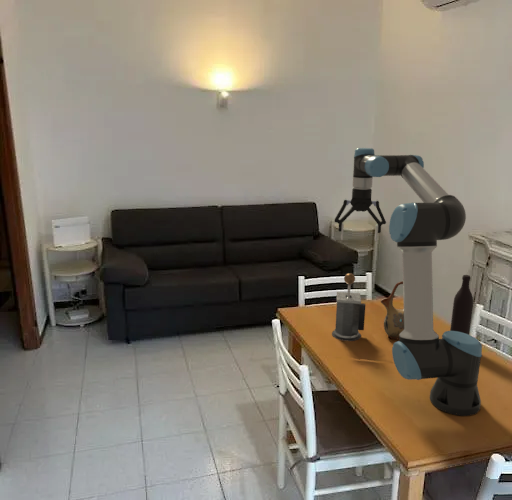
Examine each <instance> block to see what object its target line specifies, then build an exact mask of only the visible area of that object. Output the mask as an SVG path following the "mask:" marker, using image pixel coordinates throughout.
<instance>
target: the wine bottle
mask: <svg viewBox="0 0 512 500" xmlns="http://www.w3.org/2000/svg"><path fill="white" fill-rule="evenodd" d="M461 280H462V283H461V287H460V288H459V290H458V291H457V292H456V293H455V296H454V299H453V303H452V304H453V305H452V313H451V321H450V327H449V328H450V330H449V331H458V332H462V333H465V334H468V335H470V333H471V332H470V330H471V323H472V315H473V310H474V309H473V307H474V297H473V294H472V292H471V289H470V281H471V276H470V275H469V274H463V275H462V278H461Z"/></svg>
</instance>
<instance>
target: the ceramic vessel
mask: <svg viewBox="0 0 512 500" xmlns="http://www.w3.org/2000/svg"><path fill="white" fill-rule="evenodd" d="M400 285H403V280H402V281H399V282H397V283H396V284H395V285H394V286H393V289H392V291H391V293H390V295H389V296H388V297H385V298H382V299H381V300H380V303H381V305H383V306H384V307H385V309H386V316H385V318H384V319H383V329H384V331H385V334H386V335H387V336H388V337H389V338H391V339H394V340H399V334H400V333H401V332H402V331H403V330H404V308H400V309H399V308H395V307H394V305H393V304H394V303H393V301H394V298H395V297H394V296H395V294H396V290H398V289H397V288H398V287H399V286H400Z"/></svg>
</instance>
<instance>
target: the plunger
mask: <svg viewBox="0 0 512 500" xmlns="http://www.w3.org/2000/svg"><path fill="white" fill-rule="evenodd" d="M343 280H344V282H345V283H346V284H347V292H348V294H347V297H348V298H350V293H351V286H352V284H354V283H355V282H356V277H355V274H353V273H352V272H350V273H349V272H348V273H346V274H345V275H344V278H343Z"/></svg>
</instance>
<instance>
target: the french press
mask: <svg viewBox="0 0 512 500" xmlns="http://www.w3.org/2000/svg"><path fill="white" fill-rule="evenodd" d="M347 294H348V291H336V314H335V327H334V330H333V331H334V335H335V336H336V337H337V338H340V339H344V340H353V339H356V338H358V336H359V333H360V332H359V331H364V330H365V319H366V318H365V317H366V303H365V302H364V303H362V298H361V292H360V293H359V292H350V298H348V297H347Z"/></svg>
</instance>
